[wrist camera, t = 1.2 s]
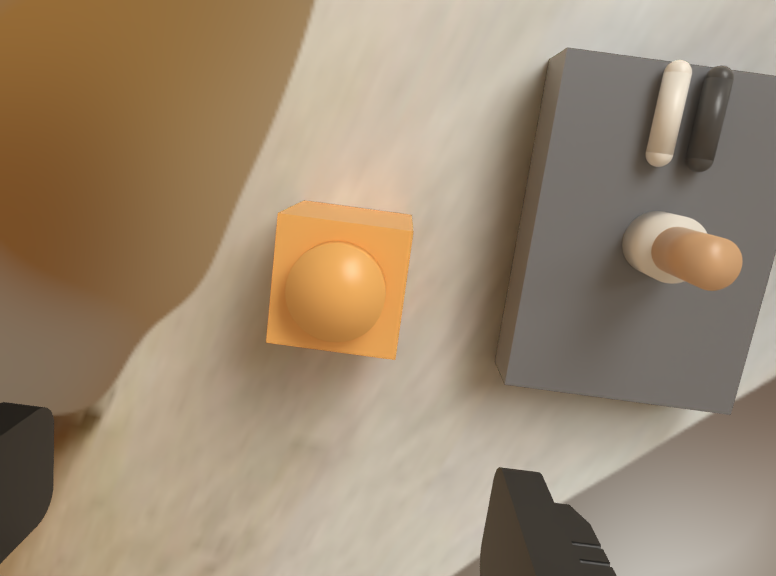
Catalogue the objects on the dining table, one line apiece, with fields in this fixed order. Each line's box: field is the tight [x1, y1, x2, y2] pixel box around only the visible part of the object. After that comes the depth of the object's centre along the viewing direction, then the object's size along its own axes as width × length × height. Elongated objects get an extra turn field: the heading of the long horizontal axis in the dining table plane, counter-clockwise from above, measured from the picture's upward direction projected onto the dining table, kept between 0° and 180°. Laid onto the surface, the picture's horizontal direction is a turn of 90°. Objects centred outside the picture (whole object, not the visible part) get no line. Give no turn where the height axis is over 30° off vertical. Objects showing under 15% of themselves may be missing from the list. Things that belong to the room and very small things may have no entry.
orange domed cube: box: [266, 200, 413, 360], centre depth 25 cm, size 5×5×7 cm
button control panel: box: [495, 48, 776, 415], centre depth 24 cm, size 14×10×8 cm
